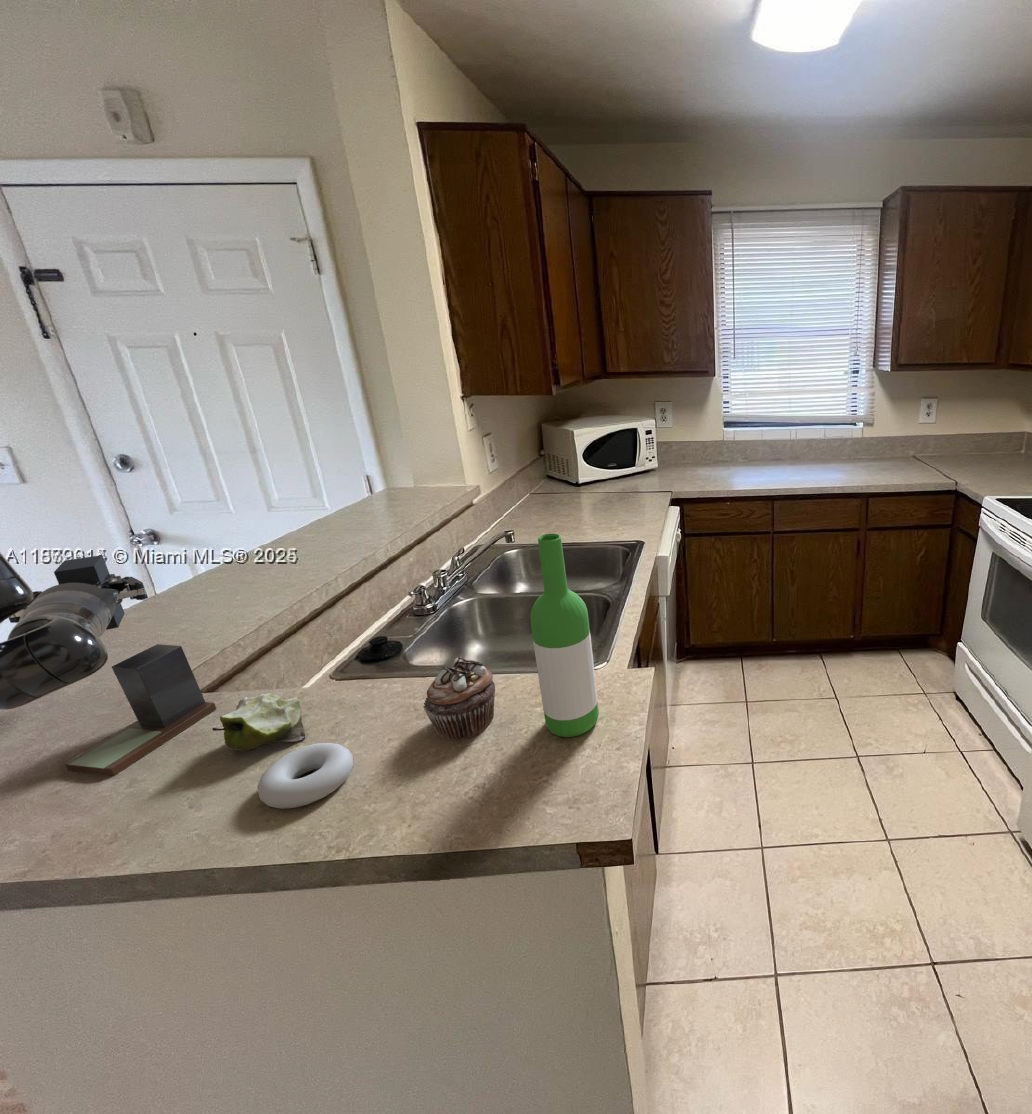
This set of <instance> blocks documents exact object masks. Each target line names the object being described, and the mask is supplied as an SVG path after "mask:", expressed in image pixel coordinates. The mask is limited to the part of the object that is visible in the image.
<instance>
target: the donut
mask: <svg viewBox="0 0 1032 1114" xmlns="http://www.w3.org/2000/svg"><path fill="white" fill-rule="evenodd" d="M353 765H354V758H353V755H352V752H351V751H350V749H348V748H347V747H345V746H344V745H342V744H339V743H334V742H317V743H313V744H309V745H305V746H302V747H300V748H297V749H294V750H292V751H290V752H288V753H286V754H285V755H283V756H281V757H279V758H278V759H277V760H276V761H275V762H273V763H271V764H270V766H269V767H268V768H267V769H266V770H265V771H264V772H263V773H262V774H261V776H260V779H259V782H258V784H257V793H258V798H259V799H260V801H261V802H263V803H264V804H266V806H269V807H271V808H276V809H280V810H282V809H283V810H284V809H296V808H300V807H303V806H307V805H310V804H313V803H314V802H317V801H319V800H322V799H324V798H326V797H327V796H329V795H330V794H331V793H333V792H335V791H336V790H337V789H338V788H339V787H340V786H341V785H343V784H344V782H346V780H347V779H348V777H349V776H350V774H351V773H352V770H353ZM311 771H313V772H312V773H311V774H308V775H305V776H303V777H301V776H302V775H304V774H306V773H309V772H311ZM299 777H300V778H299Z"/></svg>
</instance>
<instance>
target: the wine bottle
mask: <svg viewBox="0 0 1032 1114" xmlns="http://www.w3.org/2000/svg"><path fill="white" fill-rule="evenodd" d="M537 542H538V551H539V559H540V567H541V568H540V569H541V575H542V582H543V583H542V584H543V593H542V594H541V595H539V597H537V598H536V600H535V602H534V604H533V605H532V607H531V610H530V619H529V620H530V628H531V635H532V644H533V649H534V656H535V663H536V670H537V676H538V677H537V678H538V684H539V691H540V697H541V703H542V711H543V714H544V722H545V725H546V728H547V730H548V731H549V732H551V734H553V735H555V736H558V737H561V738H572V737H578V736H580V735H584V734H585V733H587V732H588V731H590V730H591V729H592V728H593V727H594V726H595V725H596V723H597V721H598V718H599V713H600V712H599V702H598V701H599V700H598V691H597V681H596V674H595V673H596V672H595V662H594V655H593V646H592V645H593V643H592V637H591V629H590V628H591V627H590V619H589V611H588V608H587V605H586V603H585V602H584V600H583V599H582V598H581V596H579V594H577V593H576V592H574V591H572V590H570V588H569V587H568V580H567V574H566V573H567V572H566V565H565V557H564V550H563V549H564V548H563V543H562V536H561V535H559V534H557V533H545V534H542V535H540V536H539V537H538V538H537Z"/></svg>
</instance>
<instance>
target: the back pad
mask: <svg viewBox="0 0 1032 1114" xmlns="http://www.w3.org/2000/svg"><path fill="white" fill-rule="evenodd" d="M53 573H54V576H55V579H56V581H57V585H59V584H64V583H85V584H90V585H91V584H93V583H95V582H98V581H104V580H105V578H106V577H107V575H109V574H110V571H109V569H108V566H107V563H106V561H105V558H104V556H103V554H101V555H93V556H86V557H78V558H72V559H64V560H63V561H62V562H61V563H60V565H58V567H56V569H55V570H54V571H53ZM125 613H126V612H125V610H124V608H123V605H122V602H121V603H120V604H118V605H116V606H115V612H114V615H113V617H112V619H111V621H110V623H109V624H108V626H107V628H106V630H105V631H107V630H113V629H117V628H119V627H120V624H121V623H122V620H123V618H124V616H125Z"/></svg>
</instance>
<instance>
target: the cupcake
mask: <svg viewBox="0 0 1032 1114" xmlns="http://www.w3.org/2000/svg"><path fill="white" fill-rule="evenodd" d="M493 679H494V677H493V673H492V672H491V671H490V670H489V669H488V668H486V667H485V666H484V664H483V663H482V662H481V661H477V660H471V659H469V660H468V659H464V657H462V656H458V657H456V658H455V659H454V660H453V666H451V667H450V666H442V670H441V671H440V673H438V675H436V676H435V678H434V680H433V682H431V684H430V685H429V687H428V689H427V691H426V697H425V699H424V702H423V711H424V712H425V714H426V715H427V717H428V720H429V721H430V722H431V724H432V726H433V728H434V730H435V732H436V734H437V735H438V736H439V737H440V738H441V739H444V740H447V741H461V740H467V739H470V738H471V737H474V736H477V735H478V734H480V733H483V732H484V730H485V729H486V728H487V727H488V726H490V725H491V723H492V721H493V719H494V714H495V698H496V684H495V681H493Z"/></svg>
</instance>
